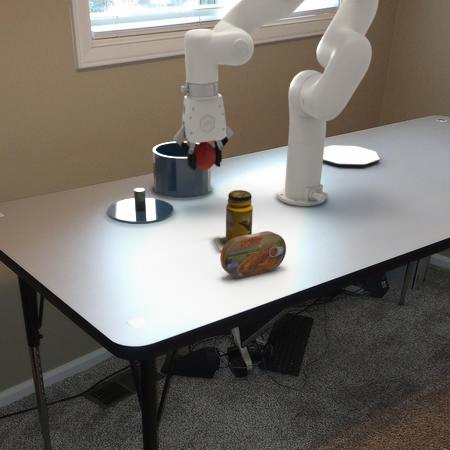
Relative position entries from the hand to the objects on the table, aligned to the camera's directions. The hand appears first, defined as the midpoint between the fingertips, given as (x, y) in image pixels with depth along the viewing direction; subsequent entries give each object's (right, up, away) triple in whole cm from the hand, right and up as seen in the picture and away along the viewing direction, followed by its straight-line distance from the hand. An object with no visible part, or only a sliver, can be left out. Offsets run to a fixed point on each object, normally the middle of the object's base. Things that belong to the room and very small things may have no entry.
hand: (204, 166), depth 164 cm
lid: (-17, -11, +2) cm, 20 cm away
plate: (+44, +18, +44) cm, 65 cm away
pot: (-7, 0, +18) cm, 19 cm away
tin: (+11, -32, -23) cm, 41 cm away
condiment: (+7, -23, -12) cm, 27 cm away
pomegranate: (0, -1, +1) cm, 1 cm away
